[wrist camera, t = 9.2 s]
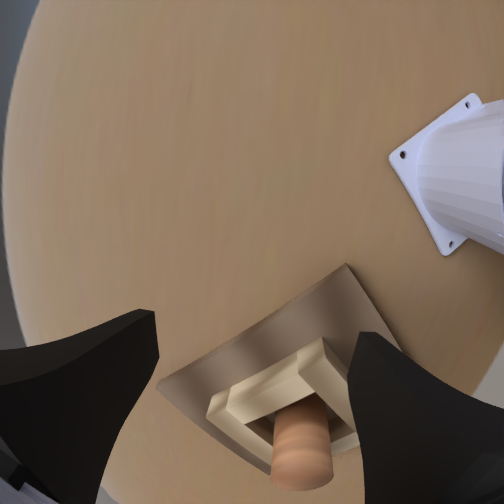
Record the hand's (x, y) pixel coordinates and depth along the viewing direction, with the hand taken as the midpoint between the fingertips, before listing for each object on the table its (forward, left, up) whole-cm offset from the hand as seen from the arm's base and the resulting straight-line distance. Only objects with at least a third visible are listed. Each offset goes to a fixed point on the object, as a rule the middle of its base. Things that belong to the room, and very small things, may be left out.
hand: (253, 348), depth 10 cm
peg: (+5, +11, -8) cm, 15 cm away
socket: (+5, +11, -9) cm, 15 cm away
